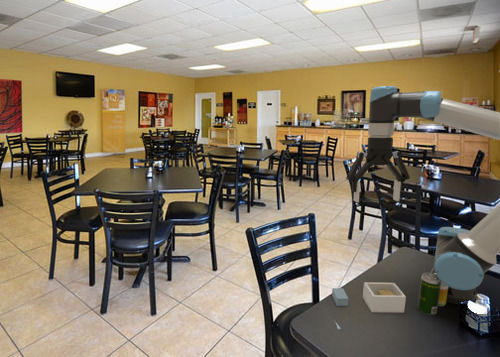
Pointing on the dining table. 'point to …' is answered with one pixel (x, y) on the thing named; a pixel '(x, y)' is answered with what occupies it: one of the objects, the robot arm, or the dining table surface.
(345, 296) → the lid
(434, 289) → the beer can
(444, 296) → the supplement bottle
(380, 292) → the brass part
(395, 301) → the tub
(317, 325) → the dining table surface
